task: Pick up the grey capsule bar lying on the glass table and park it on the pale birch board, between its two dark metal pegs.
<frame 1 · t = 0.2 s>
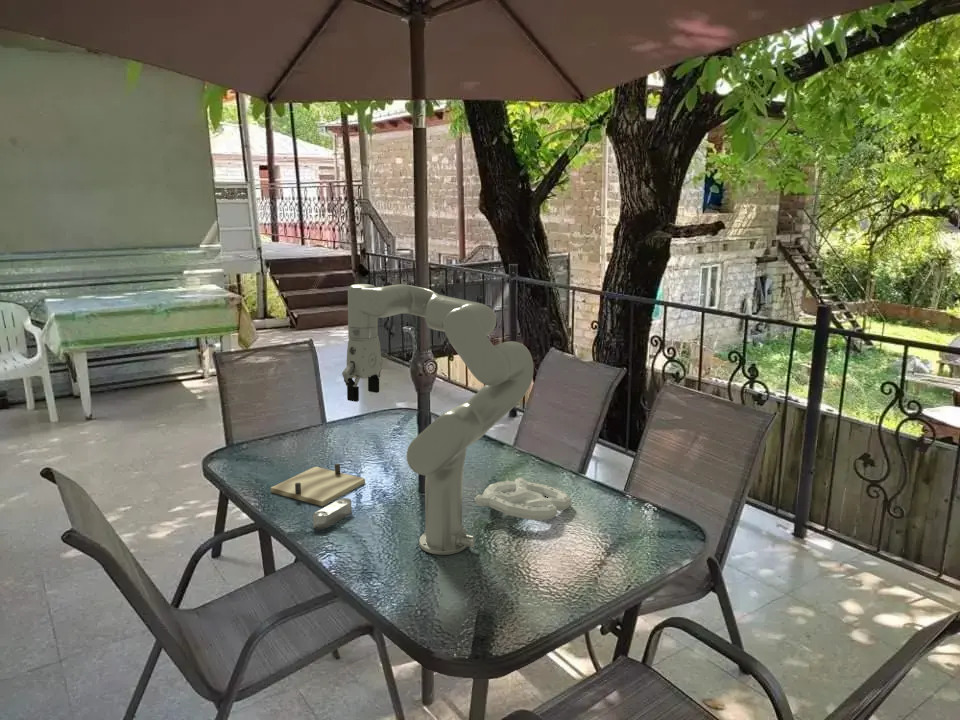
hand: (363, 396, 185), 36 cm above the table, fingers open, 9 cm apart
pretzel: (523, 509, 203), on the table
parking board: (318, 487, 216), on the table
grey capsule bar: (332, 519, 194), on the table
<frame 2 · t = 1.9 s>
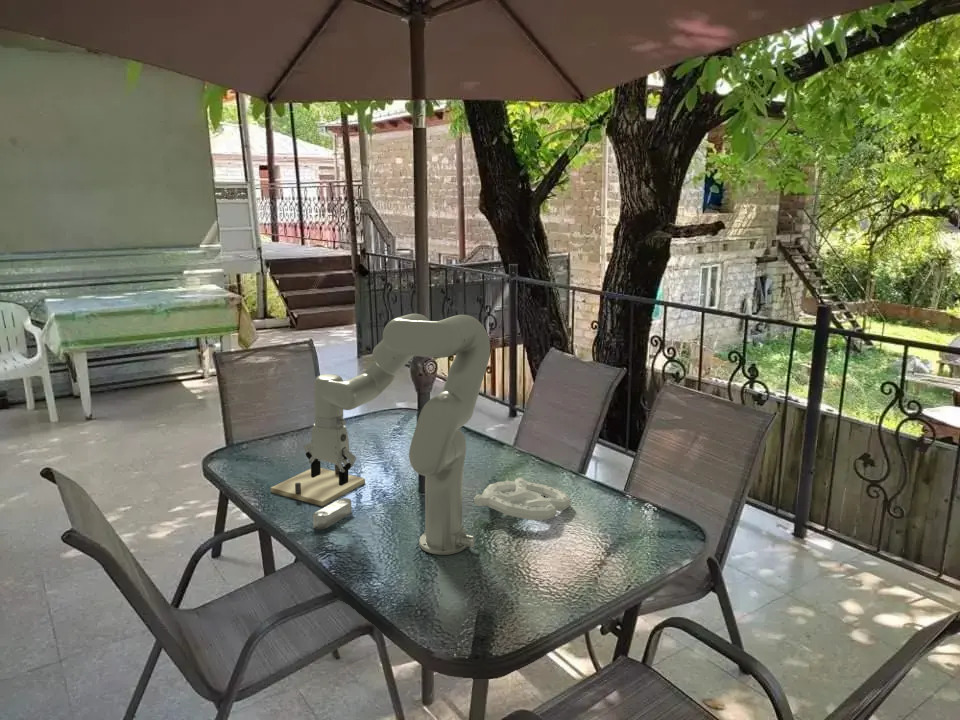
hand: (329, 479, 192), 11 cm above the table, fingers open, 9 cm apart
nothing on the table moved.
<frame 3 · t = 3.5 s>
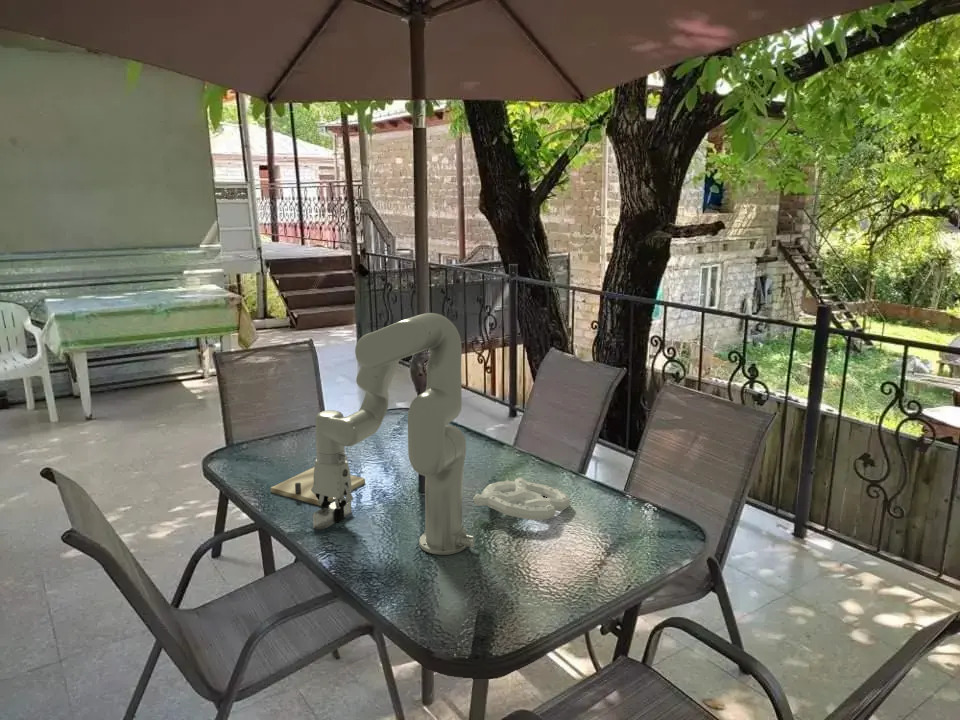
hand: (332, 517, 194), 0 cm above the table, fingers closed on grey capsule bar, 4 cm apart
grey capsule bar: (332, 519, 194), on the table, touching gripper
everything else where it was.
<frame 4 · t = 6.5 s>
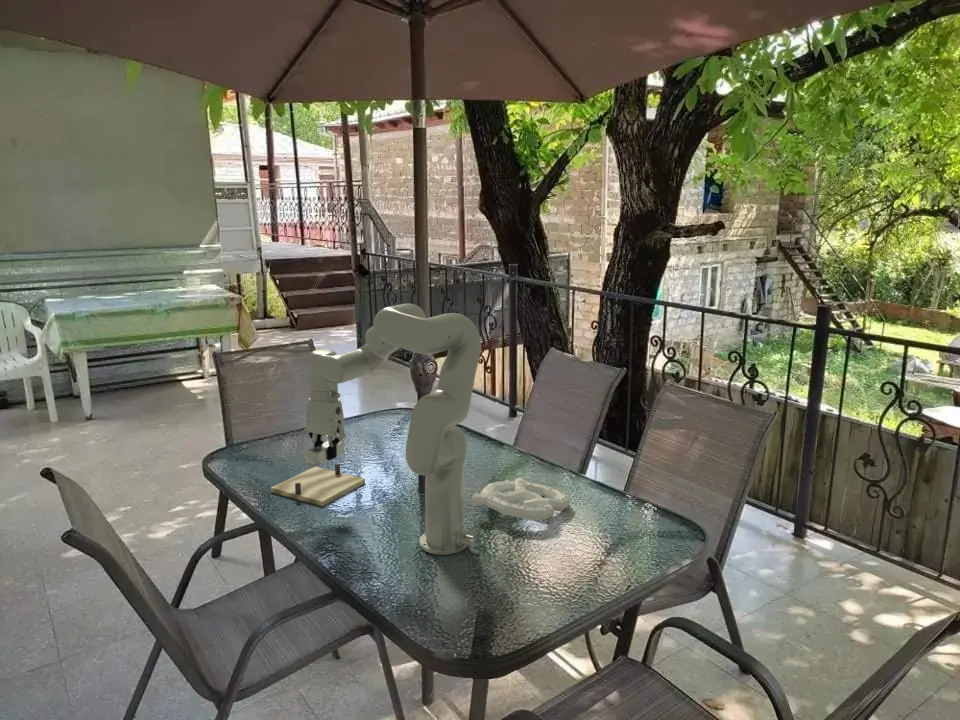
hand: (325, 456, 198), 16 cm above the table, fingers closed on grey capsule bar, 4 cm apart
grey capsule bar: (325, 457, 198), point 15 cm above the table, touching gripper
everything else where it was.
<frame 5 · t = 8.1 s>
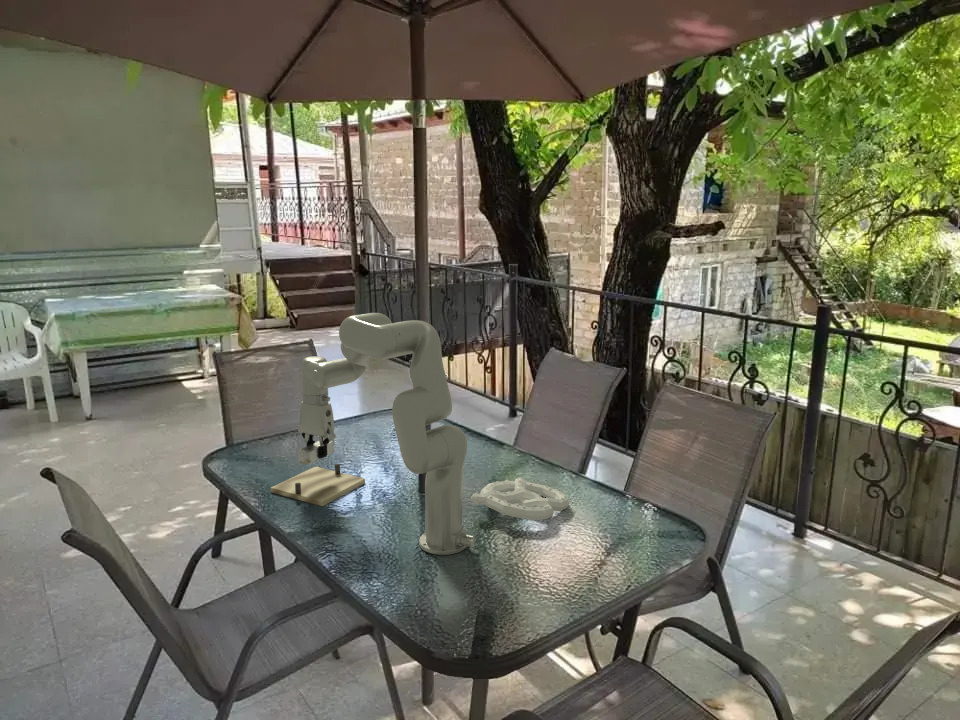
hand: (317, 455, 213), 10 cm above the table, fingers closed on grey capsule bar, 4 cm apart
grey capsule bar: (317, 456, 213), point 10 cm above the table, touching gripper
everything else where it was.
when the fingers open (3 cm above the table, at t = 9.5 s): grey capsule bar stays where it is, resting on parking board.
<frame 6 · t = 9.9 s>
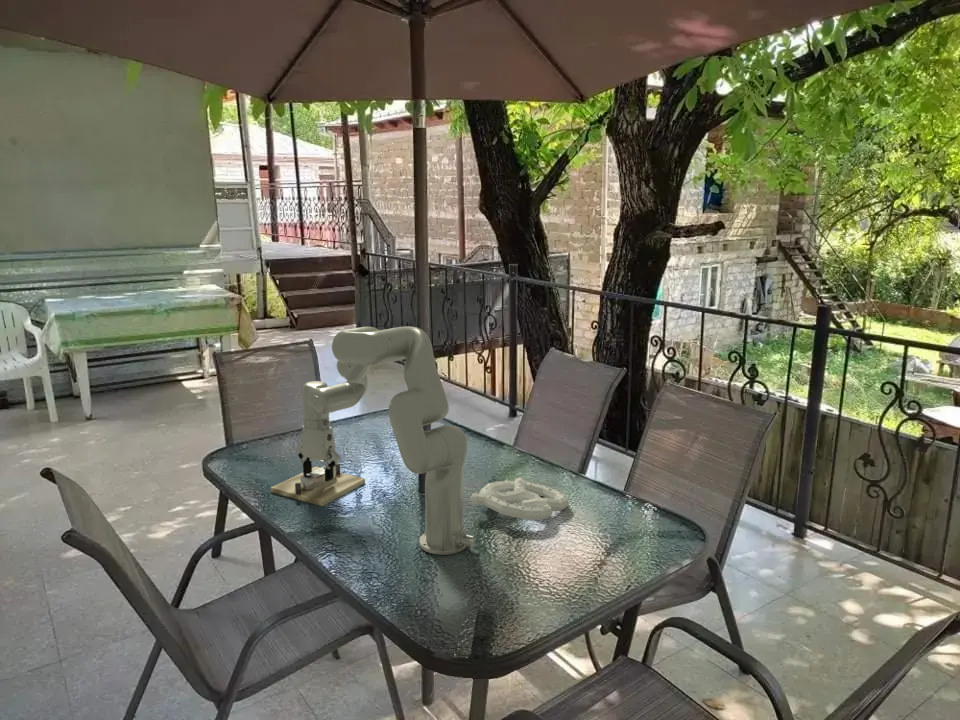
hand: (318, 476, 215), 3 cm above the table, fingers open, 8 cm apart
grey capsule bar: (318, 483, 215), point 1 cm above the table, touching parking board
everything else where it was.
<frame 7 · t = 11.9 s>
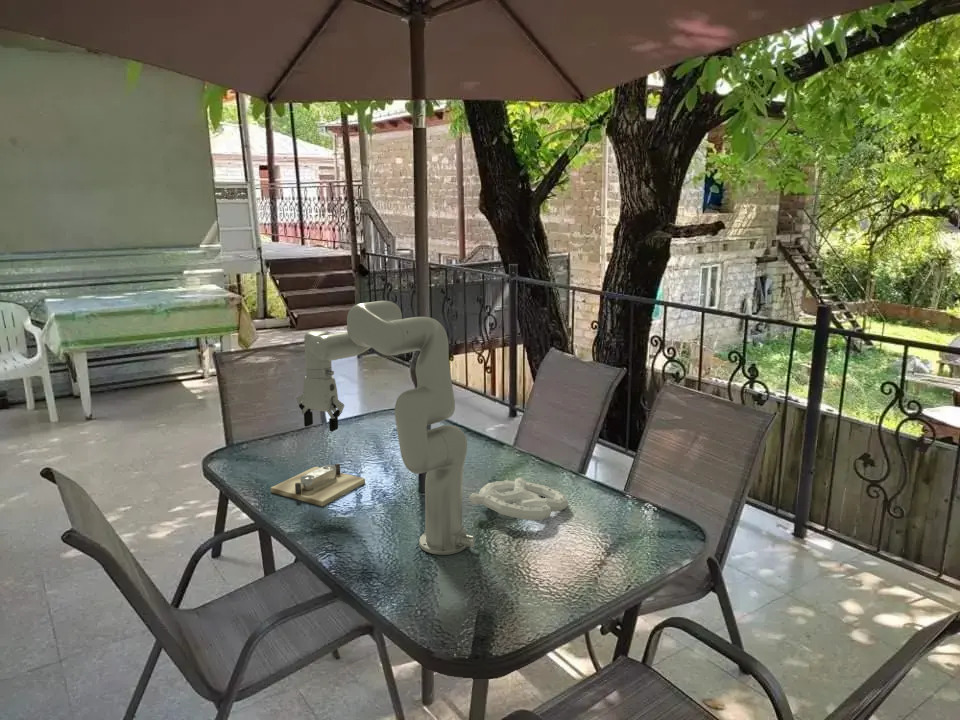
hand: (321, 427, 212), 19 cm above the table, fingers open, 9 cm apart
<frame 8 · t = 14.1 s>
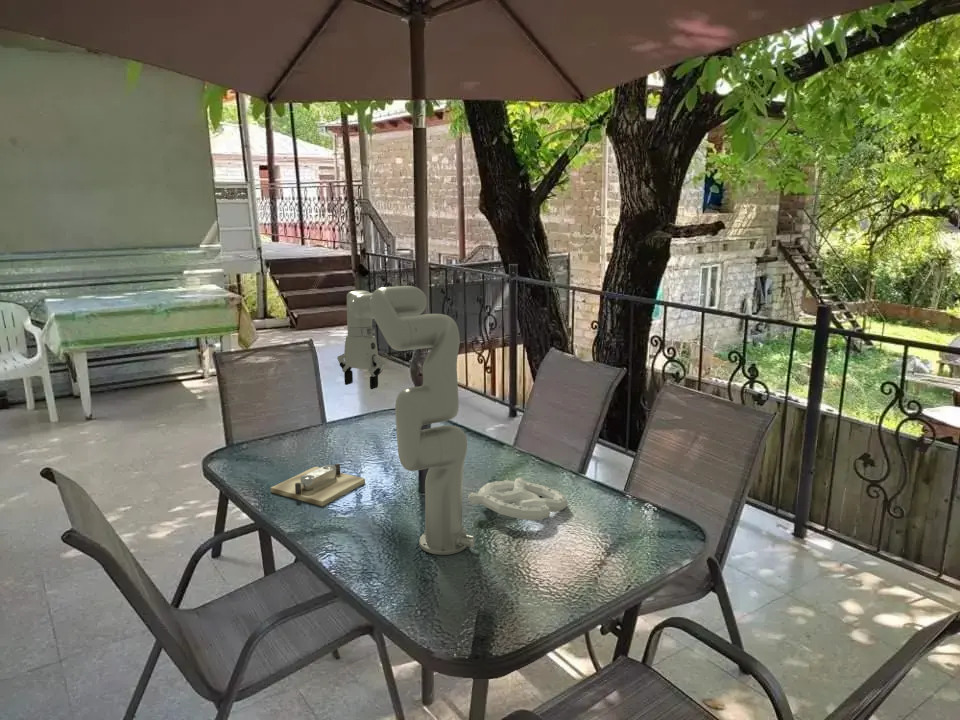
hand: (361, 386, 217), 30 cm above the table, fingers open, 9 cm apart
at the end: grey capsule bar inside the target area on the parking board (0.2 cm from its centre), point 1.5 cm above the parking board's base; grey capsule bar touching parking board; the gripper is holding nothing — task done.
